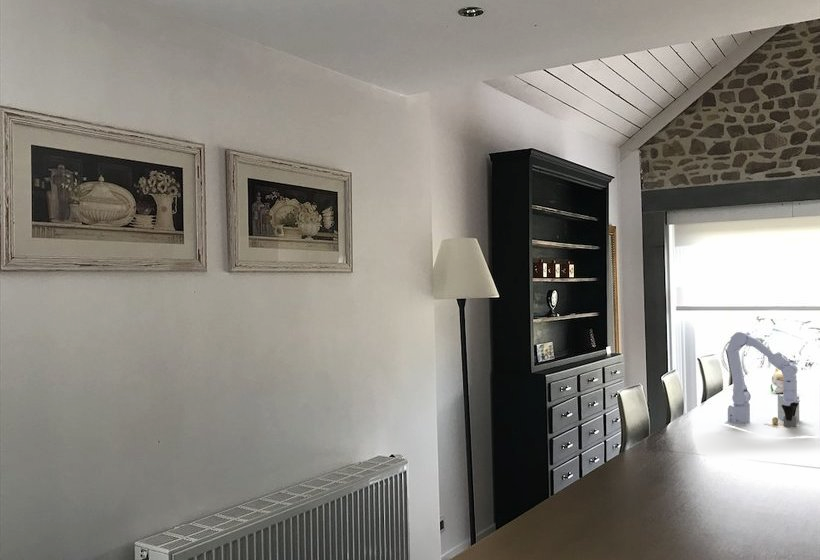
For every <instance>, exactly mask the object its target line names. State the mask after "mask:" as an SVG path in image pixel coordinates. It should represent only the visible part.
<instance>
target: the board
mask: <svg viewBox="0 0 820 560" xmlns="http://www.w3.org/2000/svg"><path fill="white" fill-rule="evenodd" d="M764 425H765V426H768V427H772V428H776V429H785V428H787V429H788V428H789V429H790V428H791V427H786V426H784V422H780V423H779V422H778V425H773V424H772V423H764ZM795 428H802V426H801V425H797V426H796V427H795Z"/></svg>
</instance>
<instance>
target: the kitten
mask: <svg viewBox="0 0 820 560" xmlns="http://www.w3.org/2000/svg"><path fill="white" fill-rule="evenodd" d="M773 386H776V388H775V390H774V388H773ZM771 391H775V392H776V393H775V392H774V393H775V394H778V393H779V394H782V393H783V374H782V372H781V370H779V369H777V368H776V367H775V372H774V373H773V374H772V377H771V384H770V392H771Z"/></svg>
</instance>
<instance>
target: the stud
mask: <svg viewBox="0 0 820 560" xmlns="http://www.w3.org/2000/svg"><path fill="white" fill-rule="evenodd" d="M771 422H772V423H771V424H773V425H778V423H779V418H778V416H773V417H772V418H771Z"/></svg>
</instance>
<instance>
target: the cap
mask: <svg viewBox="0 0 820 560" xmlns="http://www.w3.org/2000/svg"><path fill="white" fill-rule="evenodd" d="M797 422H798V421H797V418H796V416H792V421H788V420H786V417H785V416H784V420H783V423H784V426H786V427H790V428H797V427H796V426H798V424H797Z"/></svg>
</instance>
